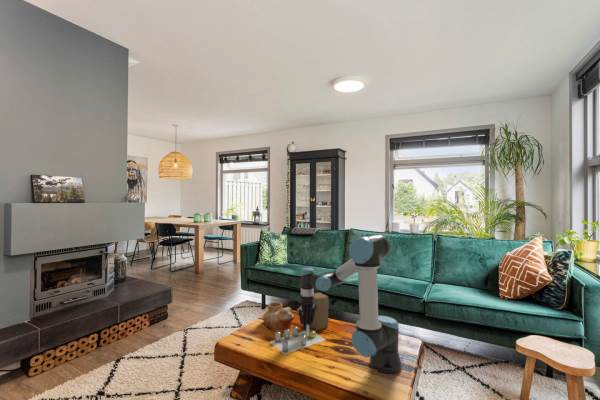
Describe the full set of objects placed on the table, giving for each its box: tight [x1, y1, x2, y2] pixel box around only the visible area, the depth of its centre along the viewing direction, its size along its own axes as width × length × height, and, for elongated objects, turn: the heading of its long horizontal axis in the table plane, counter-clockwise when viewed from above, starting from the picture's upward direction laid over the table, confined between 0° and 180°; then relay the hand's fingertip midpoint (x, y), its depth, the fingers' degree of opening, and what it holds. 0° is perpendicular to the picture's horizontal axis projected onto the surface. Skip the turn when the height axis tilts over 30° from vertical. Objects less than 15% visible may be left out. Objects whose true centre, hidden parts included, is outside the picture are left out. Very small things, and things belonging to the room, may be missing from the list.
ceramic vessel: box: [262, 301, 296, 334], centre depth 183 cm, size 14×26×15 cm, turn 37°
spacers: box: [274, 325, 306, 353], centre depth 163 cm, size 14×17×5 cm
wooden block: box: [310, 292, 329, 331], centre depth 186 cm, size 10×10×20 cm
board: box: [269, 328, 327, 355], centre depth 165 cm, size 16×28×1 cm, turn 125°
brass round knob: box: [308, 328, 317, 339], centre depth 170 cm, size 5×5×3 cm
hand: (306, 335), depth 169 cm, fingers closed
